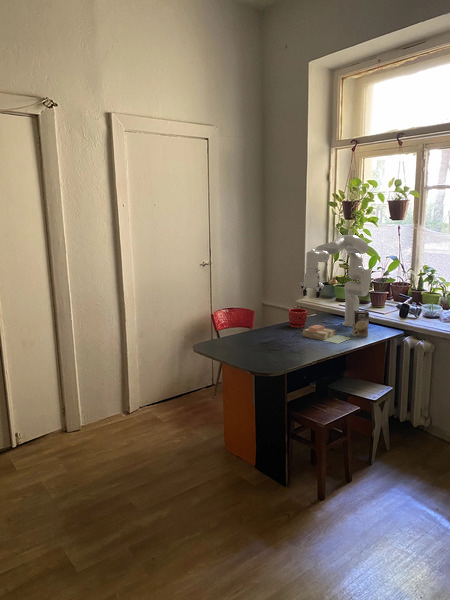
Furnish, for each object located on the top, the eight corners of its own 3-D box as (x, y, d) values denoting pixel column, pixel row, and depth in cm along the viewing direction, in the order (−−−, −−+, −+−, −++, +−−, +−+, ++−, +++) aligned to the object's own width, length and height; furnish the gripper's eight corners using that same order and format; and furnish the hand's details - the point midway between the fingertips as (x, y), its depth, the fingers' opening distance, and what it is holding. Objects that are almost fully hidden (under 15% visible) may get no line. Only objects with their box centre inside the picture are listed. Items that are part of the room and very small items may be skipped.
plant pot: (287, 328, 314) (287, 311, 312) (290, 323, 327) (290, 307, 324) (305, 329, 311) (306, 312, 308) (308, 324, 323) (308, 308, 321)
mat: (336, 335, 293) (336, 335, 293) (350, 338, 286) (351, 337, 286) (323, 340, 282) (323, 340, 282) (338, 343, 274) (338, 343, 274)
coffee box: (353, 336, 289) (354, 312, 286) (351, 334, 296) (352, 310, 293) (368, 336, 288) (369, 312, 285) (366, 334, 295) (367, 310, 292)
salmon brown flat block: (316, 327, 299) (316, 324, 298) (323, 328, 295) (324, 326, 294) (308, 330, 293) (308, 327, 292) (316, 331, 288) (316, 328, 288)
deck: (314, 331, 303) (314, 326, 303) (335, 335, 292) (335, 329, 292) (302, 336, 294) (302, 330, 293) (323, 340, 283) (323, 334, 282)
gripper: (326, 271, 282) (326, 297, 285) (303, 269, 294) (303, 294, 297) (320, 272, 277) (320, 299, 280) (297, 270, 288) (296, 296, 292)
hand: (311, 296), depth 288 cm, fingers open, 9 cm apart
